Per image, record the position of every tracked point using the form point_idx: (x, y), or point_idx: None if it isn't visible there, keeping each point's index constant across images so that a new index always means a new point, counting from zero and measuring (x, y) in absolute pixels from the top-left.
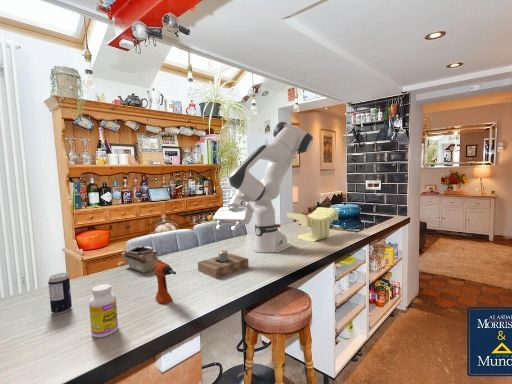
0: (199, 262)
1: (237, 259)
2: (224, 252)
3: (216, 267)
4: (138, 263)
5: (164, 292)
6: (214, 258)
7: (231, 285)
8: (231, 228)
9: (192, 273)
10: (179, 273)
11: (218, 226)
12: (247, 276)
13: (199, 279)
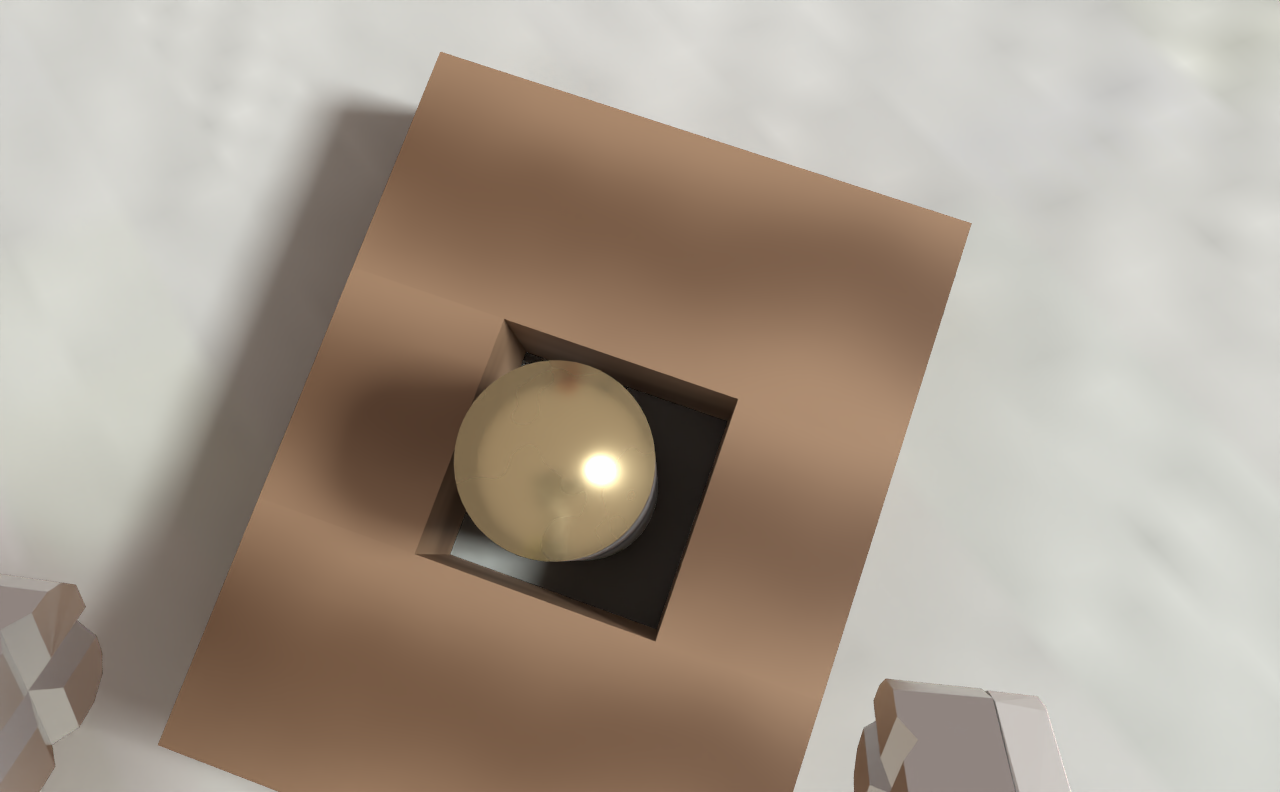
0: (926, 217)
1: (342, 625)
2: (491, 429)
3: (466, 119)
4: None
5: None
6: (816, 516)
7: (139, 12)
8: (31, 601)
9: (932, 151)
10: (1121, 78)
11: (939, 774)
12: (75, 353)
13: (668, 12)
